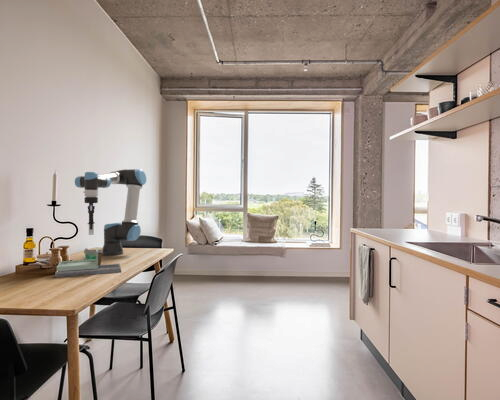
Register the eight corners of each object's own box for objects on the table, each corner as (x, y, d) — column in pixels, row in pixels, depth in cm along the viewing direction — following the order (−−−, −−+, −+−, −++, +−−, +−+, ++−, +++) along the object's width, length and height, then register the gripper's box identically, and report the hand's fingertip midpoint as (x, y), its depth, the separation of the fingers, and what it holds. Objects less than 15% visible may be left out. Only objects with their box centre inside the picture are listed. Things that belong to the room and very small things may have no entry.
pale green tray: (59, 266, 196) (59, 249, 196) (97, 264, 204) (98, 247, 204) (56, 272, 181) (56, 253, 181) (98, 269, 189) (98, 251, 189)
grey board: (58, 270, 196) (58, 267, 196) (119, 266, 210) (119, 262, 210) (54, 277, 180) (54, 273, 180) (121, 272, 193) (121, 268, 193)
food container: (79, 265, 211) (79, 249, 211) (86, 263, 217) (86, 248, 217) (95, 266, 208) (95, 250, 207) (102, 265, 213) (102, 249, 213)
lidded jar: (61, 266, 209) (61, 251, 209) (49, 270, 198) (49, 254, 198) (44, 265, 210) (44, 250, 210) (32, 269, 199) (32, 253, 199)
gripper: (84, 196, 217) (84, 233, 218) (84, 196, 203) (84, 236, 203) (97, 196, 221) (97, 232, 221) (97, 196, 206) (97, 235, 206)
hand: (91, 234), depth 212 cm, fingers open, 3 cm apart
